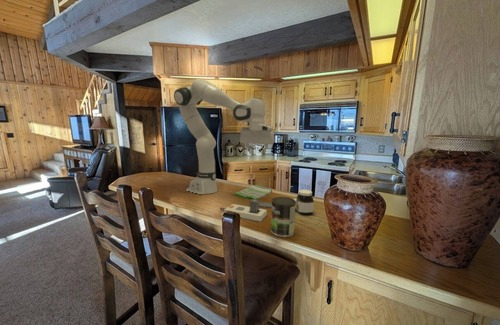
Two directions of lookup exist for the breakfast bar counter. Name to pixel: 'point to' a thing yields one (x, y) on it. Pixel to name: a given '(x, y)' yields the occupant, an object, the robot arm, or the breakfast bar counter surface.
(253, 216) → the power strip
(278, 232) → the coffee can
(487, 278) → the breakfast bar counter surface
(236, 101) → the robot arm
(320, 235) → the breakfast bar counter surface
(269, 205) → the phone slab
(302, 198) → the spread jar
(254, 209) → the charger plug
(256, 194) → the dish towel
